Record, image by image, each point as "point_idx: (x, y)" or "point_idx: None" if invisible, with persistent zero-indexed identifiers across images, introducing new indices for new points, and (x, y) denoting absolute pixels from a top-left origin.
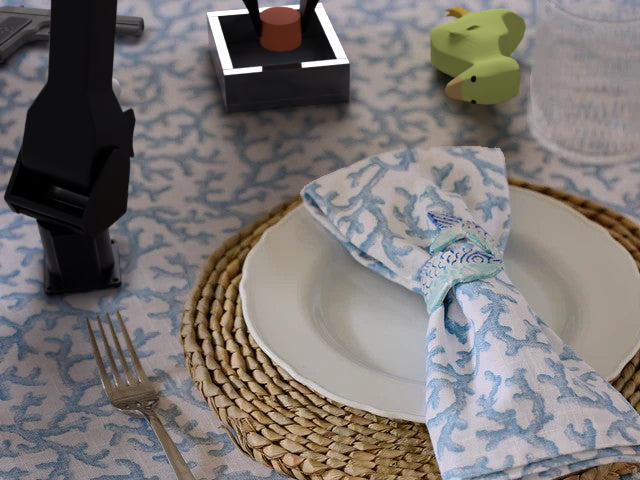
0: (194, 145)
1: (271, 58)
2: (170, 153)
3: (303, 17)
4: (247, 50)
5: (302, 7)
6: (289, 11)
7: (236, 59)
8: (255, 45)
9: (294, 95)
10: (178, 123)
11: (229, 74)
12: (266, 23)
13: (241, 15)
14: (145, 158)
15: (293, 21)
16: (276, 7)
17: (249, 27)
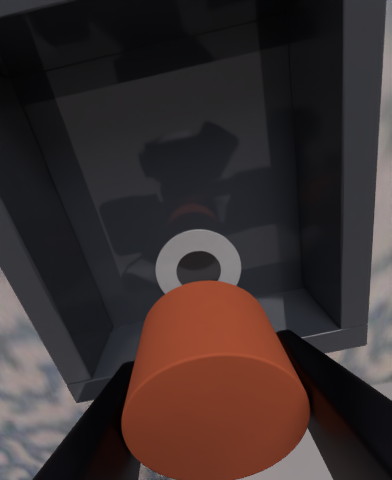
0: (77, 404)
1: (167, 165)
2: (49, 420)
3: (319, 450)
4: (99, 118)
5: (341, 466)
6: (262, 396)
7: (80, 171)
8: (116, 85)
9: None
10: (34, 361)
11: (87, 400)
12: (162, 474)
13: (22, 16)
14: (19, 430)
15: (272, 462)
16: (198, 367)
17: (78, 37)
